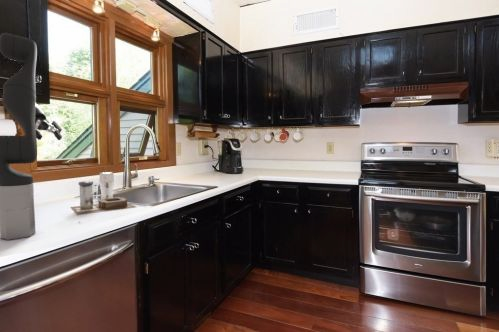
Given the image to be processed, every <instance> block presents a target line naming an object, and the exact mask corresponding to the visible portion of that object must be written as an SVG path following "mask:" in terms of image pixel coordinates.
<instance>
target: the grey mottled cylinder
mask: <svg viewBox="0 0 499 332" xmlns="http://www.w3.org/2000/svg"><path fill="white" fill-rule="evenodd" d="M93 185H94V181H92V180H88V181H87V180H86V181H84V180H83V181H79V182H78V186H79V206H80V209H81V210H89V209H93V204H94V195H93V194H94V190H93Z"/></svg>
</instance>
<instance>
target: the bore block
mask: <svg viewBox="0 0 499 332" xmlns="http://www.w3.org/2000/svg"><path fill="white" fill-rule="evenodd" d="M135 208H137V206H135V205H134V204H132V203H130V202H129V201H128V199H127V198H125V197H120V196H115V197H114V196H113V198H104V199H101V198H99V199H98V202H97V203H95V204H94V203H93V209H89V210H81V209H80V205H78V206H77V205H76V206H70V209H71V210H72V211H73V213H74V214H76V215H77V216H80V215H81V216H82V215H88V214H89V215H90V214H95V213H104V212H111V211H119V210H126V209H127V210H128V209H135Z"/></svg>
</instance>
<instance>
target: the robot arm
mask: <svg viewBox="0 0 499 332" xmlns="http://www.w3.org/2000/svg"><path fill="white" fill-rule="evenodd" d="M37 47H38V46H37V43H36V42H35V40H34V39H31V38H28V37H24V36H20V35H18V34H12V33H8V32H2V33H1V34H0V52H1V54H2V55H3V56H4V57H5V58H8V59H10V60H14V61H17V62H18V63H19V62H20V63H23V66H22V68H21V69H20V70H19V71H18V72H17V73H15V74H14V75H13V76H11V77H10V78H9V79H8V80H7V81H6V82H5V83H4V85H3V95H2V94H1V95H2V99H1V100H2V105H3V107H4V108H5V109H6V110H7V112H8V113H9V114H10V115H11V116H12V118H14V119H15V121H17V123H18V124H19V126H20V128H21V129H22V132H23V133H24V135H0V239H3V240H5V241H10V240H15V239H21V238H22V239H23V238H29V237H31V236H33V235H34V234H36V215H35V214H36V213H35V195H34V193H35V192H34V191H35V190H34V176H33V175H31V174H29V173H25V172H21V171H19V170H15V169H14V168H12V167H11V165H14V164H15V165H18V164H20V165H21V164H33V163H35V162H36V160H37V158H38V145H37V144H38V143H37V142H38V141H37V140H39V141H41V140H42V139H43V134H41V132H40V131H46V132H47V133H52V134H53V135H54V137H55V139H57V141H61V139H62V138H63V135H62V134H61V132H62V131H63V129H62V128H61V126H60V125H59V124H58V122H56V121H55V120H53V121H49V120H48V119H47V116H46V113H44V111H43V110H42V109H41V107H40V106H39V105H38V104H37V94H36V93H37V91H36V90H37V89H36V67H37V56H38V48H37Z"/></svg>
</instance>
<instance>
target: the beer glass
mask: <svg viewBox="0 0 499 332" xmlns="http://www.w3.org/2000/svg"><path fill="white" fill-rule="evenodd" d="M114 184H115V178H114V172H113V171H112V172H111V171H110V172H109V171H108V172H107V171H105V172H104V171H103V172H99V188H100V192H101V197H100V199H104V198H114V195H113V192H114V186H115V185H114Z"/></svg>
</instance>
